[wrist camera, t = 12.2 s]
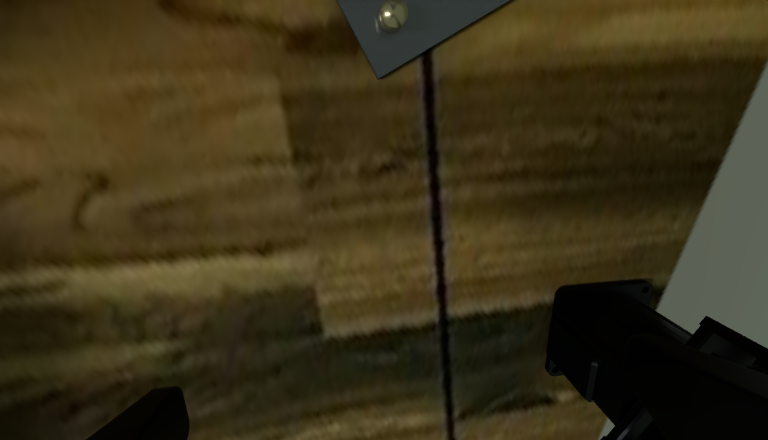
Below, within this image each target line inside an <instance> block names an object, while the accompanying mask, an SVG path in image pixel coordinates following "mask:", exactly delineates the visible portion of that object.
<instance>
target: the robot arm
mask: <svg viewBox="0 0 768 440" xmlns="http://www.w3.org/2000/svg"><path fill="white" fill-rule="evenodd" d="M652 289H653V287H652V285H651V284H650V283H648V282H646V281H644V280H639V281H628V282H616V283H605V284H594V285H583V286H571V287H562V288H560V289H558V290H557V291H556V293H555V297H554V305H553V312H552V320H551V323H550V329H549V337H548V344H547V352H546V354H547V357H546V364H545V369H546V371H547V372H548V373H549V374H550V375H551V376H560V375H565V376H566V378H567V379H568V380H569V381H570V382H571V383H572V385H573V386H574V387H575V388H576V389H577V390H578V392H579V393H580V394H581V395H582V396H583V397H584V398H585V399H586V400H587V401H588V402H595V404H596V405H597V406H598V407H599V408H600V409H601V410H602V411H603V413H604V414H605V415H606V416H607V417H608V418H609V419H610V420H611V422H612V423H613V424H614V425H615V427H614V428H613V429H612V430H611V431H610V433H609V434H608V435H607V436H603V437H602V439H601V440H768V349H767V348H765V347H763V346H762V345H760V344H757V343H756V342H754V341H752V340H750V339H748V338H746V337H745V336H743V335H741V334H739V333H737V332H735V331H734V330H732V329H730V328H728V327H726V326H724V325H722V324H721V323H719V322H717V321H715V320H713V319H711V318H710V317H708V316H706V317H705V318H704V319H703V320H702V321H701V322H700V323H699V324H700V325H701V326H700V327H699V328H698V330H697V331H696V332H695V333H694V334H691V333H690V332H688V331H686V330H685V329H683V328H682V327H680V326H679V325H677V324H675V323H674V322H672V321H670V320H669V319H667V318H666V317H664V316H663V315H661V314H659V313H658V312H656V311H655V310H653V309H651V308H650V307H649V303H650V298H651V294H652ZM564 294H566V295H565V296H564V297H563V295H564ZM562 297H563V298H562ZM554 367H555V368H554ZM188 434H189V417H188V413H187V409H186V405H185V400H184V396H183V392H182V390H181V388H180V387H178V386H168V387H159V388H155V389H153V390H151V391H150V392H148V393H147V394H146V395H144V396H143V397H142V398H140V399H139V400H138V401H136V402H135V403H134V404H132V405H131V406H130V407H128V408H127V409H126V410H125V411H123V412H122V413H121V414H119V415H118V416H117V417H115V418H114V419H113V420H111V421H110V422H109V423H107V424H106V425H105V426H103V427H102V428H101V429H100V430H98V431H97V432H96V433H94V434H93V435H92V436H90V437H89V438H88V439H86V440H187V438H188Z"/></svg>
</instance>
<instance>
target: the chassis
mask: <svg viewBox="0 0 768 440" xmlns="http://www.w3.org/2000/svg"><path fill="white" fill-rule="evenodd" d="M336 1H337V3H338V5H339V6H340V8H341V10H342V12H343V14H344V16H345V18H346V20H347V22H348V24H349V26H350V27H351V29H352V31H353V33H354V35H355V37H356V39H357V41H358V43H359V45H360V47H361V48H362V50H363V52H364V54H365V56H366V58H367V60H368V62H369V64H370V66H371V68H372V70H373V71H374V73H375V75H376V77H377V79H379V78H381V77H382V76H384V75H386V74H387V73H389V72H391V71H392V70H394V69H396V68H397V67H399V66H401V65H402V64H404V63H406V62H407V61H409V60H411V59H412V58H414V57H416V56H417V55H419V54H421V53H422V52H424V51H426V50H427V49H429V48H431V47H432V46H434V45H436V44H437V43H439V42H441V41H442V40H444V39H446V38H447V37H449V36H451V35H452V34H454V33H456V32H457V31H459V30H461V29H462V28H464V27H466V26H467V25H469V24H471V23H472V22H474V21H476V20H477V19H479V18H481V17H482V16H484V15H486V14H487V13H489V12H491V11H492V10H494V9H496V8H497V7H499V6H501V5H502V4H504V3H506V2H507V1H509V0H336Z"/></svg>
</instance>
